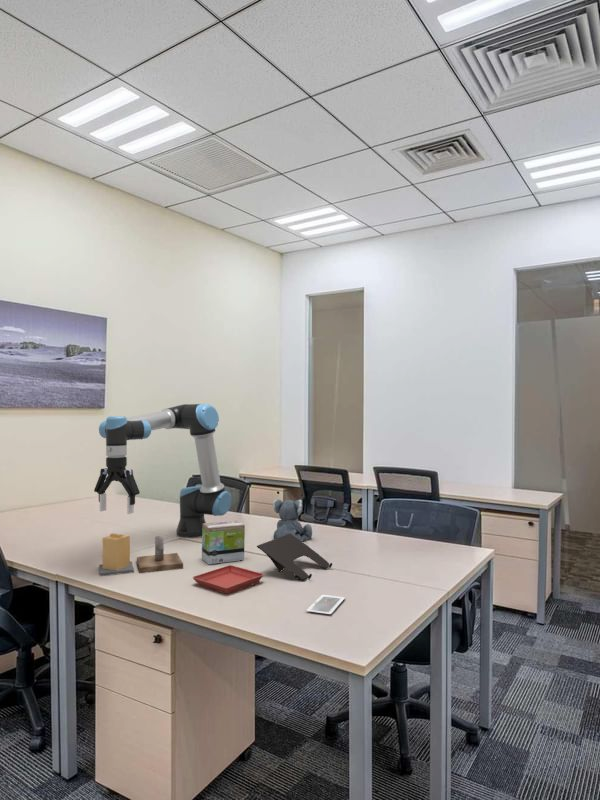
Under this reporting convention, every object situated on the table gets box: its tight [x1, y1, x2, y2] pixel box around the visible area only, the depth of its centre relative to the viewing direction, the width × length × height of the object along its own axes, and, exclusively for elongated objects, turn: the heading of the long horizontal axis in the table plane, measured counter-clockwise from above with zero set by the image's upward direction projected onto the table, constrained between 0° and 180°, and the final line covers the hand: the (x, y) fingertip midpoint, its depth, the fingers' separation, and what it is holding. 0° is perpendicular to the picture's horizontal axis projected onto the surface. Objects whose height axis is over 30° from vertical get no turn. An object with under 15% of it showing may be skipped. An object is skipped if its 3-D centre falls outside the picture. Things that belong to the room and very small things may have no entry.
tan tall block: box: [102, 532, 131, 571], centre depth 206 cm, size 7×7×12 cm
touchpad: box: [305, 594, 346, 615], centre depth 167 cm, size 8×15×2 cm, turn 159°
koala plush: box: [272, 498, 313, 542], centre depth 251 cm, size 17×18×20 cm
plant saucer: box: [192, 564, 265, 595], centre depth 189 cm, size 18×18×3 cm
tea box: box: [201, 520, 246, 566], centre depth 219 cm, size 15×10×15 cm
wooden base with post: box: [136, 535, 184, 574], centre depth 212 cm, size 16×16×11 cm
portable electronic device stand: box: [256, 534, 333, 581], centre depth 205 cm, size 23×23×9 cm
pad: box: [99, 560, 135, 576], centre depth 206 cm, size 12×12×1 cm
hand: (116, 512), depth 207 cm, fingers open, 13 cm apart
